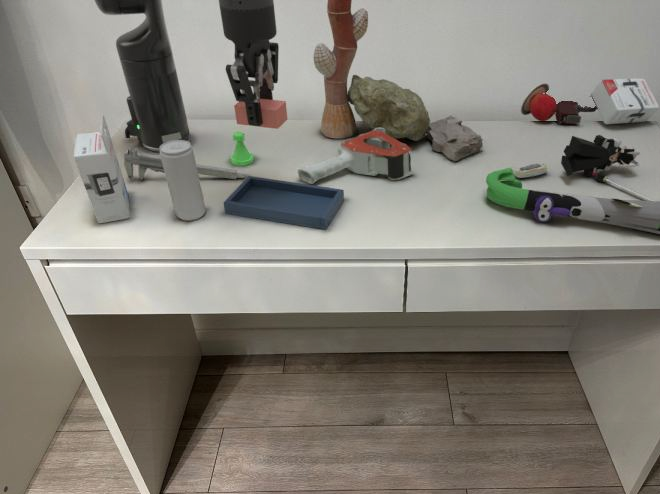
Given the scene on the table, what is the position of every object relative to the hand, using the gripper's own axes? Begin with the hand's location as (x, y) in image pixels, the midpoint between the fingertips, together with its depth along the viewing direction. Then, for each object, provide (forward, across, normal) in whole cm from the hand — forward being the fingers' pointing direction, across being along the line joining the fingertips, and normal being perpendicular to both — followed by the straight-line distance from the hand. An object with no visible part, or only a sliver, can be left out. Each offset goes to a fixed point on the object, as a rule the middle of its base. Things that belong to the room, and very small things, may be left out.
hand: (261, 118), depth 88 cm
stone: (+13, +28, -28) cm, 42 cm away
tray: (+14, -3, -4) cm, 15 cm away
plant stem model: (+13, +28, -4) cm, 32 cm away
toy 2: (+9, +14, -52) cm, 55 cm away
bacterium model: (+13, +16, -44) cm, 48 cm away
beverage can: (+14, -10, +10) cm, 20 cm away
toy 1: (+11, +8, -66) cm, 68 cm away
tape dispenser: (+14, +13, -12) cm, 23 cm away
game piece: (+14, +10, +10) cm, 20 cm away
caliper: (+14, +1, +17) cm, 22 cm away
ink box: (+8, +48, -57) cm, 75 cm away
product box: (+14, -12, +23) cm, 29 cm away
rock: (+7, +34, -20) cm, 40 cm away
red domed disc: (+9, +49, -42) cm, 66 cm away
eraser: (0, 0, 0) cm, 0 cm away
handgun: (+12, +48, -60) cm, 78 cm away
